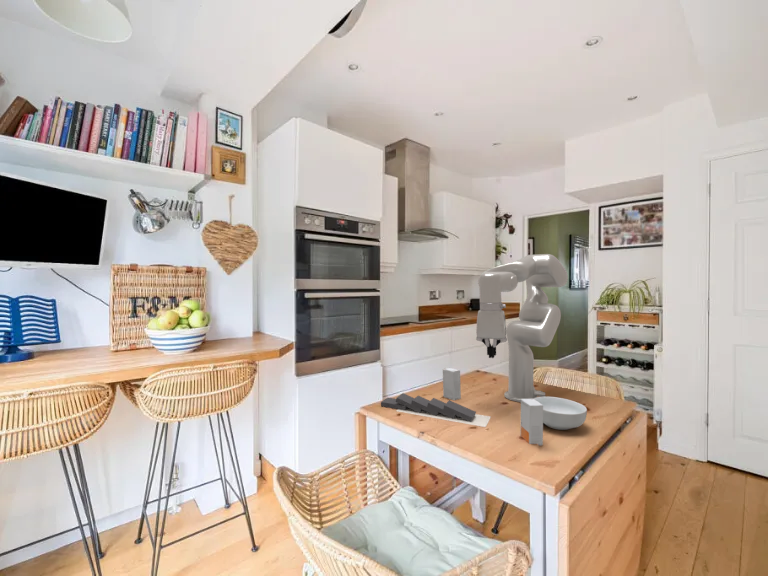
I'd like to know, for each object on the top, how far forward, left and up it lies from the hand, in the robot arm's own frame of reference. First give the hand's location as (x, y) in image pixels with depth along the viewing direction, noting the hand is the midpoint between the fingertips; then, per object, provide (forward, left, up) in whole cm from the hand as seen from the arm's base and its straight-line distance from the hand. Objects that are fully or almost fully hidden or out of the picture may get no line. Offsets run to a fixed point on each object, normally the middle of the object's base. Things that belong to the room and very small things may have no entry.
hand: (491, 357), depth 131 cm
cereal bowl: (-22, +2, -20) cm, 30 cm away
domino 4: (+10, +11, -19) cm, 24 cm away
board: (+15, +11, -20) cm, 28 cm away
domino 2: (+22, +11, -19) cm, 31 cm away
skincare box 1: (+17, -8, -20) cm, 28 cm away
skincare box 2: (-15, +19, -20) cm, 32 cm away
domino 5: (+4, +11, -19) cm, 22 cm away
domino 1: (+28, +11, -19) cm, 36 cm away
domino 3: (+16, +11, -19) cm, 27 cm away
